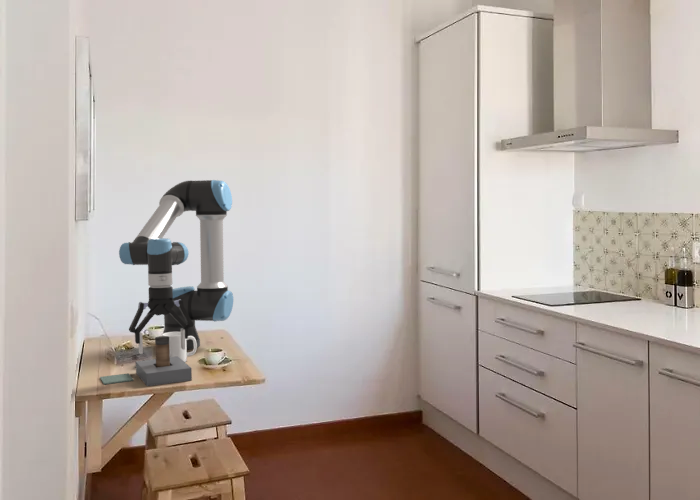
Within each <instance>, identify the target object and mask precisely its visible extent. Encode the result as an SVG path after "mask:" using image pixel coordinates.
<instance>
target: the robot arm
mask: <svg viewBox="0 0 700 500" xmlns="http://www.w3.org/2000/svg"><path fill="white" fill-rule="evenodd" d="M158 203H159V204H158V206H157V208H156V210H155V211H154V212H153V214H152V215H151V217H150V218H149V219H148V220H147V222H145V224H144V226H143V227H142V229H141V230H140V231H139V233H137V236H136V237H135V238H134V239H133V241H132V242H131V241H130V242H129V241H128V242H124V243H122V244H121V245H120V246H119V249H118V250H119V251H118V255H119V256H118V257H119V259H120V261H121V263H122V264H123V265H132V266H143V265H144V266H147V274H148V275H147V280H148V281H147V282H148V283H147V284H148V286H149V287H148V301H147V302H142V301H139V302H138V307H137V310H136V313H135V315H134V317H133V319H132V321H131V324H130V326H129V328H128V331H129V332H130V333H132V334H134V341H135V344H138V353H139V354H140V355H143V353H144V346H143V333H142V331H143V330H144V328H145V327H146V325H147V324H148V323H149V322H150V320H151V319H152V318H153V317H154V316H161V315H162V316H163V319H164V320H163V321H164V322H163V323H164V324H163V325H164V328H163V333H162V334H164V333H167V332H181V348H182V349H183V350H184V349H185V339H187V338H188V336H193V337H194V338H195V339H196V342H197V348H198V347H200V346H201V339H200V336H199V334H198V333H199V332H198V331H197V328H196V321H199V322H201V321H202V322H203V321H204V322H208V321H209V322H223V321H226V320H228V318H229V317H230V315H231V313H232V310H233V306H234V295H233V292H232V291H231V290H229V289H228V288H229V287H228V284H226V283H225V281H224V274H225V273H224V220H225V218H226V217H227V215H228V213H227V212H229V211H231V209H232V207H233V206H232V205H233V196H232V192H231V189H230V187H229V185H228V183H227V182H225V180H218V179H217V180H215V179H212V180H211V179H210V180H207V179H206V180H203V179H202V180H185V181H182V182H179V183H177V184H176V185H173V186H172V187H171V188H169V189H168V190H167V191H166V192H165V193H164V194H163V196H162V197H160V199H159V202H158ZM190 211H191V212H195V216H196V217H197V219H199V227H200V228H199V232H200V234H199V235H200V237H199V238H200V239H199V241H200V242H199V244H200V245H199V247H200V283H198V285H197V286H196V290H195V287H194V286H182V287H175V288H173V287H172V285H173V266H177V265H181V264H183V263H184V262H186V261H187V260H188V257H189V249H188V246H186V244H185V243H182V242H178V241H173V242H172V240H171V238H169V237H168V238H164V237H165V235H166V233H167V232H168V230H169V229H170V228H171V226H172V224H173V223H174V222H175V220H176V219H177V218H178V217H180V216H182V215H183V213H185V212H190ZM147 307H148V309H149V310H148V312H147V313H146V315H145V316H144V318H143V319H142V321H141V322H140V323H139V321H140V320H141V317H142V315H143V312H144V310H146V309H147ZM138 323H139V324H138ZM186 345H187V351H188V350H192V349H194V343H193V340H192V339H189V340H186Z"/></svg>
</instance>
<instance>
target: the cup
mask: <svg viewBox="0 0 700 500" xmlns="http://www.w3.org/2000/svg"><path fill="white" fill-rule="evenodd" d="M161 336H168V337H169V350H170V357H177V356H178V357H179V358H180V359H181V360H183V361H184V362H185V363H186V362H187V360H188V359H187V358H188V357H191V356H193V355H194V354H195V353H196V351H197V348H198V347H197V342H196V339H195V338H194V337H193V336H188V338H187V339H185V349H184V350H183V349H182V348H181V332H167V333H164V334H163V333H162V334H161ZM189 339H192V340H193V343H194V348H193V350H192V351H190V352H187V351H188V350H187V345H186V340H189Z"/></svg>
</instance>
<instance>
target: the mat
mask: <svg viewBox="0 0 700 500" xmlns="http://www.w3.org/2000/svg"><path fill="white" fill-rule="evenodd" d="M99 379H100V381H101V382H102V384H103V385H104V386H106V385H111V384H113V385H114V384H120V383H126V382H127V383H129V382H134V381H135V379H134V378H133V377H132V375H130V373H127V372H126V373H119V374H112V375H105V376H104V375H103V376H99Z"/></svg>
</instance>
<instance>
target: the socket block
mask: <svg viewBox="0 0 700 500" xmlns="http://www.w3.org/2000/svg"><path fill="white" fill-rule="evenodd" d="M135 374H136V375H137V376H138V377H139V379H140V380H141V381H142V382H143V383H144V384H145V386H146V387H151V386H158V385H165V384H166V385H167V384H173V383H182V382H188V381H189V382H190V381H192V379H193V378H192V367H191V366H190V365H188V364H187V363H186V362H184V361H183V360H181V359H180V358H179V357H178V356H177V357H170V366H164V367H156V358H154V359H152V358H151V359H145V360H144V359H143V360H136V361H135Z"/></svg>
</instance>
